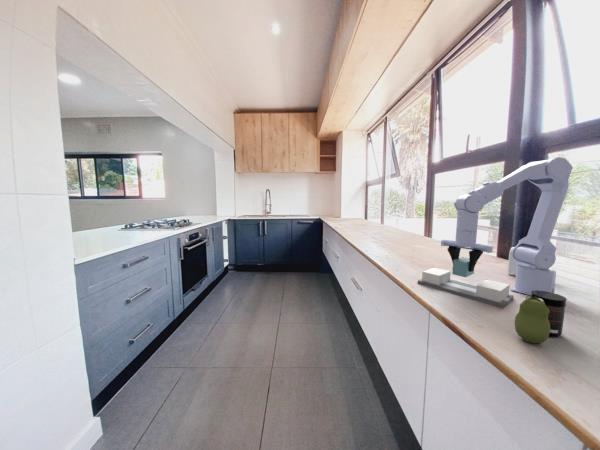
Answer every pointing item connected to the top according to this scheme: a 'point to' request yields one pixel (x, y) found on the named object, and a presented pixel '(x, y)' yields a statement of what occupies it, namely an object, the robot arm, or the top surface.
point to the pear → (533, 320)
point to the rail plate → (468, 287)
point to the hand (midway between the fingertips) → (463, 269)
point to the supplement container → (553, 310)
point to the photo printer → (512, 264)
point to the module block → (462, 267)
